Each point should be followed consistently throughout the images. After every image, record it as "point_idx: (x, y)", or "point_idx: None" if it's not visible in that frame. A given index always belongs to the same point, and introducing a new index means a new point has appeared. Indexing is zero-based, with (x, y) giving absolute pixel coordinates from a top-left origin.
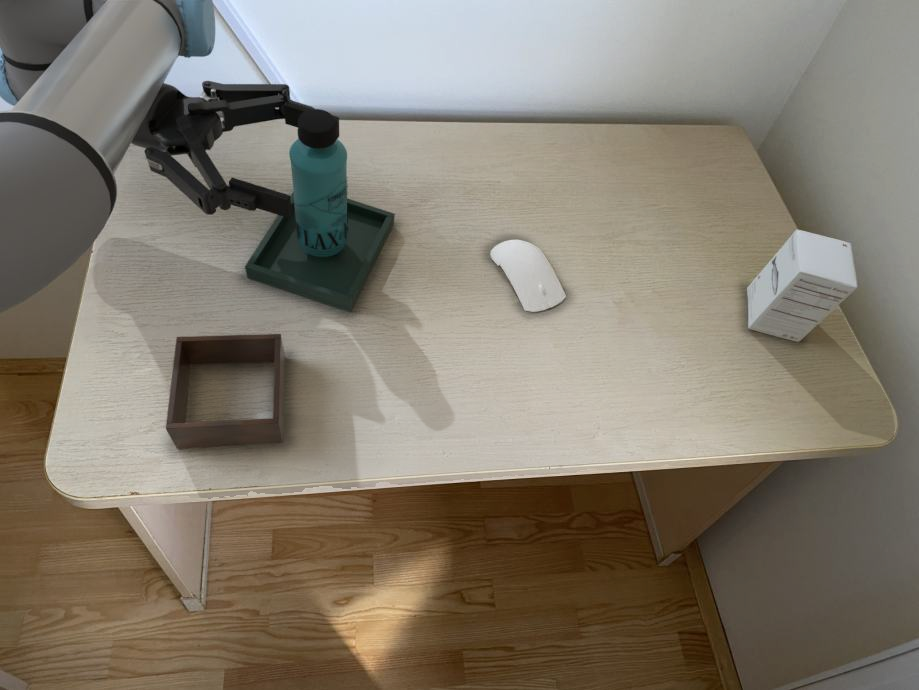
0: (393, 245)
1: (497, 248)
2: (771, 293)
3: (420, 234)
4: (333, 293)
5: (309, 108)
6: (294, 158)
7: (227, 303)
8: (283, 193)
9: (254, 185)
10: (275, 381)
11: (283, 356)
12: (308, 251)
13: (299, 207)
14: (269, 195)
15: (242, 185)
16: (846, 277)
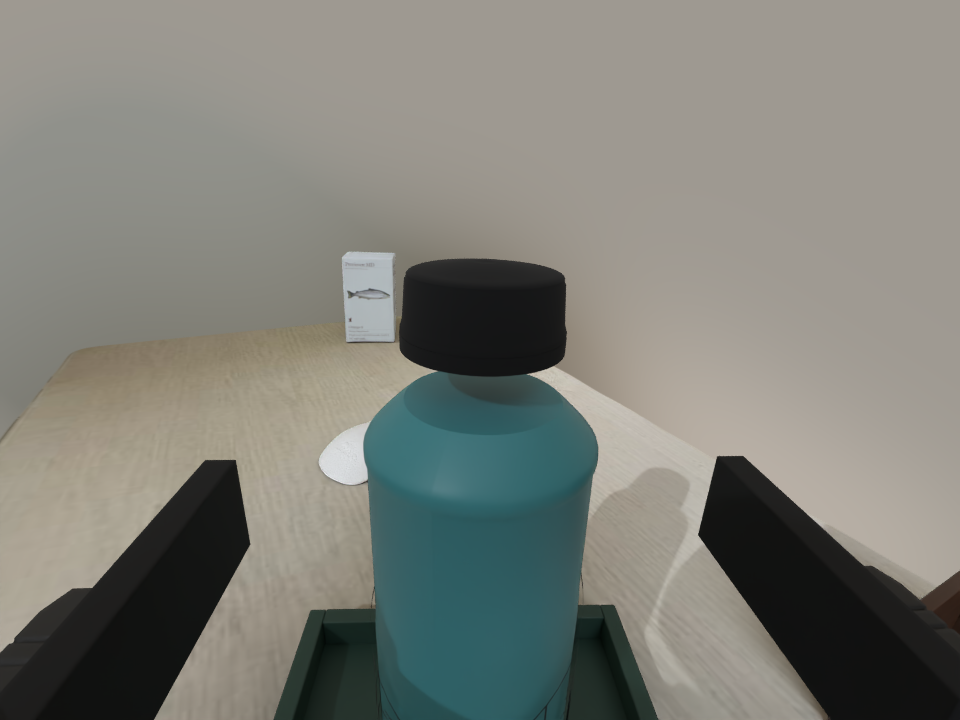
0: None
1: (351, 470)
2: (384, 301)
3: (333, 584)
4: (622, 645)
5: (109, 571)
6: (577, 456)
7: None
8: (733, 471)
9: (830, 564)
10: (938, 600)
11: None
12: None
13: (572, 645)
14: (792, 502)
15: (906, 607)
16: (387, 253)
